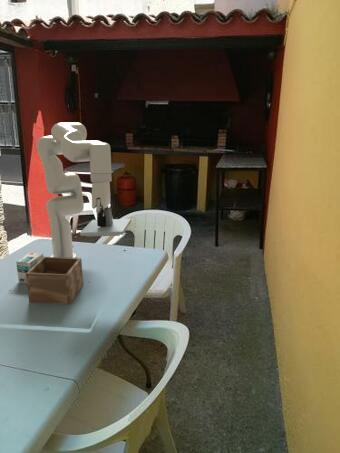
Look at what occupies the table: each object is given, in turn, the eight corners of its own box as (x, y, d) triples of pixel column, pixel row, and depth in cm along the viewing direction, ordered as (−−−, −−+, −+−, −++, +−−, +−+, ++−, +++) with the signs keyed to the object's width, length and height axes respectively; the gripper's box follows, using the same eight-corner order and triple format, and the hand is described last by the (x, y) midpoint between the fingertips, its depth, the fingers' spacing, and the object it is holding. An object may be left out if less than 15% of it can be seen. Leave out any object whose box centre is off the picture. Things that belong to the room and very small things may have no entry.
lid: (93, 225, 143) (90, 204, 140) (131, 223, 142) (129, 203, 139) (80, 238, 128) (77, 215, 125) (123, 237, 126) (120, 214, 124)
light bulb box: (32, 286, 148) (29, 262, 144) (18, 284, 149) (15, 261, 145) (46, 275, 158) (43, 253, 154) (32, 273, 159) (29, 251, 155)
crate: (46, 284, 149) (43, 256, 145) (83, 286, 148) (81, 258, 144) (29, 304, 134) (25, 273, 130) (70, 306, 133) (67, 275, 129)
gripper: (97, 173, 137) (99, 217, 142) (84, 181, 121) (87, 231, 126) (116, 173, 136) (117, 218, 142) (105, 181, 120) (107, 231, 126)
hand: (103, 223), depth 134 cm, fingers closed on lid, 4 cm apart
